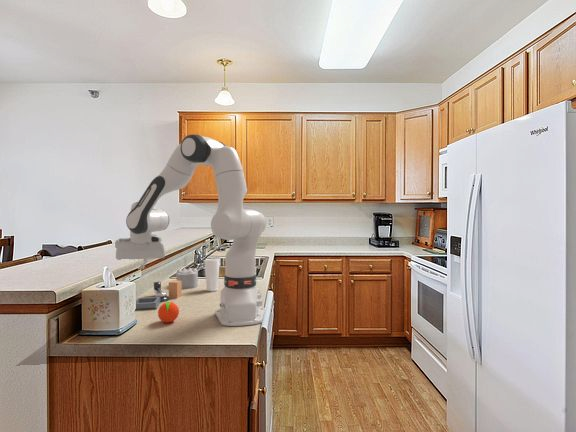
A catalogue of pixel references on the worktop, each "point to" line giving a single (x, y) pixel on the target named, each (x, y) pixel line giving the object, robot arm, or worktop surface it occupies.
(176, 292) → the block
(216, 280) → the drinking glass
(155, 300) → the tray
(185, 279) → the grey animal paw
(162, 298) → the crank base
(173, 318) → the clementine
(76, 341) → the worktop surface
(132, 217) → the robot arm
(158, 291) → the crank
